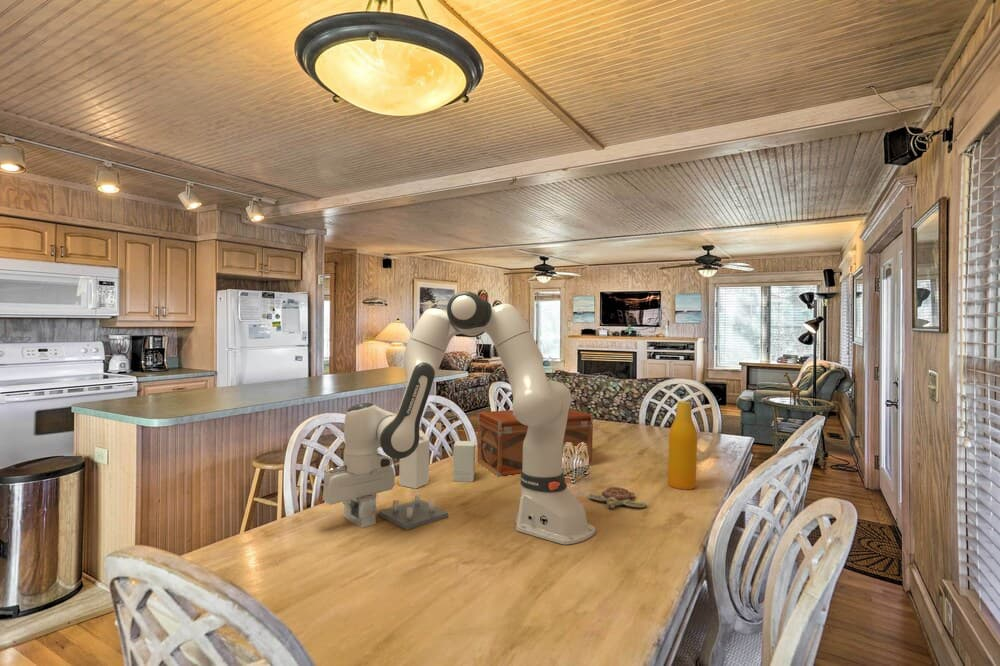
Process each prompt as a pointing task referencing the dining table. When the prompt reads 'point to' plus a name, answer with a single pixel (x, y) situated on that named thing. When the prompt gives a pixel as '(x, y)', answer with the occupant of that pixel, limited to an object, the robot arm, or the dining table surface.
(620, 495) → the decorative turtle
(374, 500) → the block
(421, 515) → the pin tray
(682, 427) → the beer bottle
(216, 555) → the dining table surface
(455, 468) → the supplement box
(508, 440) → the wooden box
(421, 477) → the milk carton
